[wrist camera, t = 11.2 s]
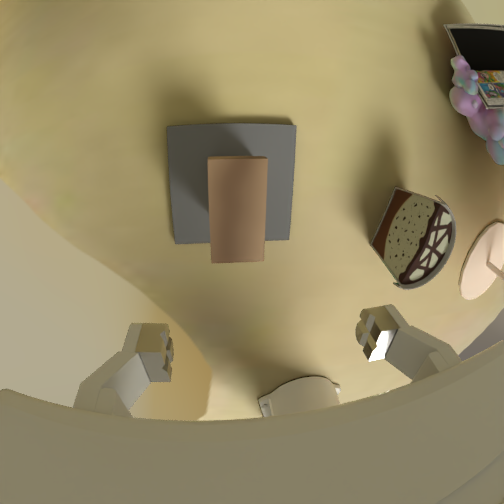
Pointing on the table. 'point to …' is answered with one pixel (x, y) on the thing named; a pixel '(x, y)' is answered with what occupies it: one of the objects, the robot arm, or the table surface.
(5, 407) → the robot arm
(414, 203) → the half chocolate cake
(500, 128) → the pastel lumpy piece
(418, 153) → the table surface
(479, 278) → the orange pedestal table
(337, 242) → the table surface
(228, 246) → the tall wooden block
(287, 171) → the mat
